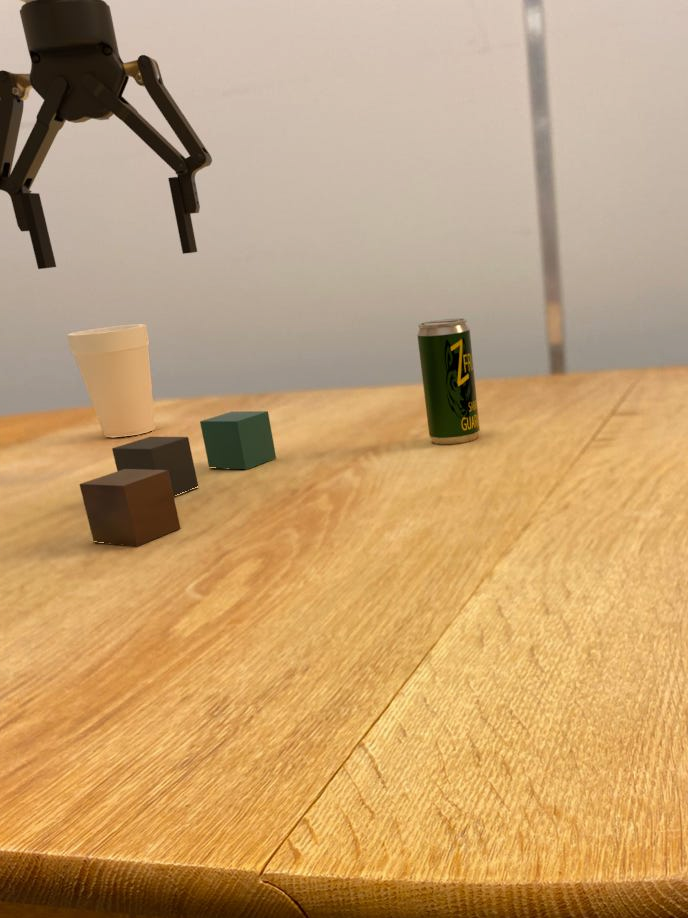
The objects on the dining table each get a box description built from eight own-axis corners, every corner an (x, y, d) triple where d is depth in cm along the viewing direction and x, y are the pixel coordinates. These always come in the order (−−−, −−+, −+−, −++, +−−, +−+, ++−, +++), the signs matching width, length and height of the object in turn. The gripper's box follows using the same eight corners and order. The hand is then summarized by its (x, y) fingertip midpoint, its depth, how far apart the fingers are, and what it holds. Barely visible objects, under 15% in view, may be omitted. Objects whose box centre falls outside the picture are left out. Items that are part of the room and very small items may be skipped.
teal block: (209, 469, 111) (199, 421, 109) (240, 457, 115) (231, 411, 113) (245, 470, 108) (236, 421, 107) (276, 458, 112) (268, 411, 111)
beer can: (421, 445, 111) (407, 327, 106) (441, 434, 115) (428, 320, 111) (469, 444, 109) (456, 323, 104) (487, 433, 113) (476, 316, 109)
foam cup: (135, 440, 132) (111, 332, 127) (77, 442, 135) (51, 337, 130) (181, 424, 140) (160, 322, 135) (124, 426, 143) (102, 326, 138)
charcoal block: (123, 500, 101) (111, 448, 99) (161, 486, 105) (150, 436, 103) (162, 502, 99) (150, 448, 97) (198, 488, 103) (188, 436, 101)
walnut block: (93, 543, 87) (79, 483, 86) (138, 525, 91) (124, 468, 90) (137, 546, 85) (123, 485, 83) (180, 528, 89) (168, 469, 87)
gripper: (-100, 10, 89) (-29, 276, 97) (195, -23, 88) (242, 247, 96) (-59, 24, 96) (4, 272, 104) (215, -6, 95) (257, 245, 103)
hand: (118, 261), depth 100 cm, fingers open, 13 cm apart
